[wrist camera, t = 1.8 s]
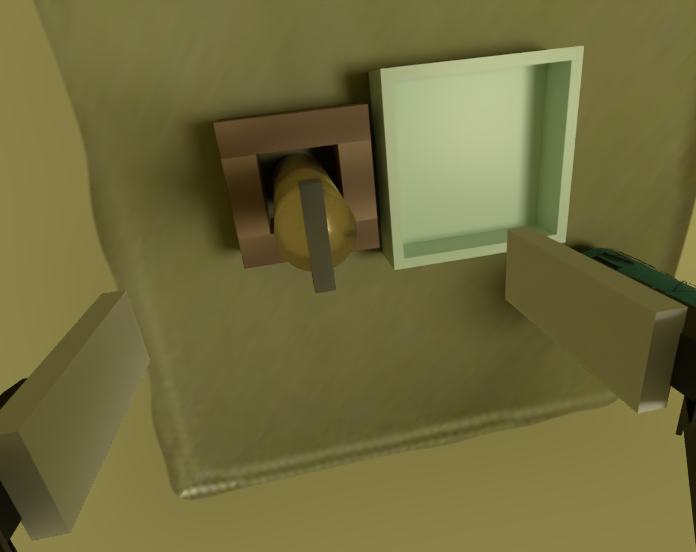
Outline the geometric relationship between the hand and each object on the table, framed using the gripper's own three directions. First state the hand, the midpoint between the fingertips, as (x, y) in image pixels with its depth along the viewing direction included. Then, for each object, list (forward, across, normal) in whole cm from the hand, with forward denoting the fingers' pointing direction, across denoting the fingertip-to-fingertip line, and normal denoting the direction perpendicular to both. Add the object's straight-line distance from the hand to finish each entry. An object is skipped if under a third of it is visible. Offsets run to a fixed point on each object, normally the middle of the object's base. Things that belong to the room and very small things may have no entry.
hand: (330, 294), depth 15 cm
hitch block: (+20, 0, 0) cm, 21 cm away
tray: (+20, +13, 0) cm, 24 cm away
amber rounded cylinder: (+21, 0, 0) cm, 21 cm away
